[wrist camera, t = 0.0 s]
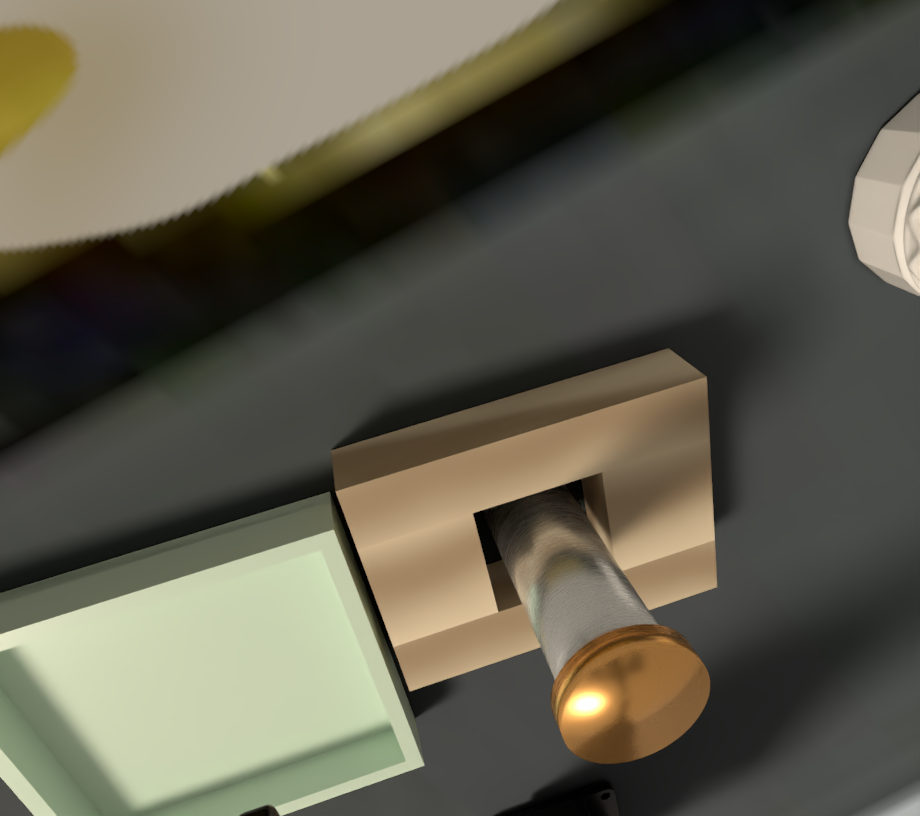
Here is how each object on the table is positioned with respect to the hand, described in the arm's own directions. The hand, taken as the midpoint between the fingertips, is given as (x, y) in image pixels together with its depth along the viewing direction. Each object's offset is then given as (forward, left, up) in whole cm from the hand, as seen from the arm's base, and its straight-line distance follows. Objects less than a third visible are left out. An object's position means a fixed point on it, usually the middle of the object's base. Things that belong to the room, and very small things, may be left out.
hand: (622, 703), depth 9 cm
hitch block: (-8, -2, -15) cm, 17 cm away
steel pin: (-8, -2, -15) cm, 17 cm away
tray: (-11, +11, -15) cm, 21 cm away
